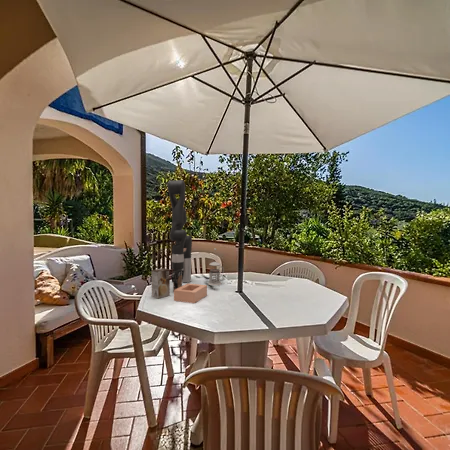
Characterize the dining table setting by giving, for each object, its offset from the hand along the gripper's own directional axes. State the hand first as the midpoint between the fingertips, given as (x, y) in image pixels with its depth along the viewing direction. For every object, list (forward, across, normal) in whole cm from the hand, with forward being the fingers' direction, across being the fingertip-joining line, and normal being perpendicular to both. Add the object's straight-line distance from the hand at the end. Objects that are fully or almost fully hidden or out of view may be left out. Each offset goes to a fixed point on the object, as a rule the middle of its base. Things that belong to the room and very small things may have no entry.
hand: (177, 287), depth 201 cm
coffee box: (+3, +14, -4) cm, 15 cm away
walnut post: (+2, 0, 0) cm, 2 cm away
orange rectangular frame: (+2, +10, +14) cm, 17 cm away
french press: (+2, -29, +15) cm, 33 cm away
